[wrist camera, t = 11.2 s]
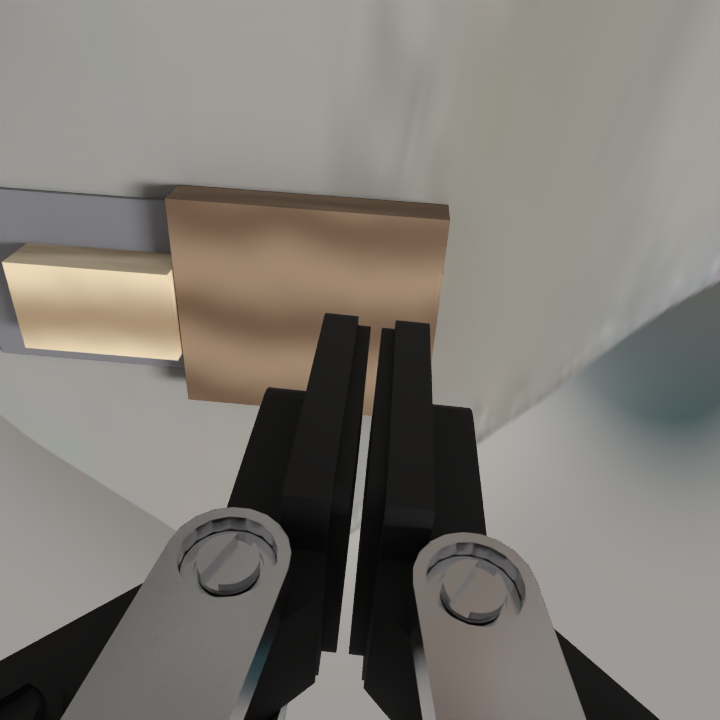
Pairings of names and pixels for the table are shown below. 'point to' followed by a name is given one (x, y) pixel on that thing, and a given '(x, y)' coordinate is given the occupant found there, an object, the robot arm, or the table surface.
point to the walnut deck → (293, 281)
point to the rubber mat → (75, 228)
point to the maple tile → (95, 300)
